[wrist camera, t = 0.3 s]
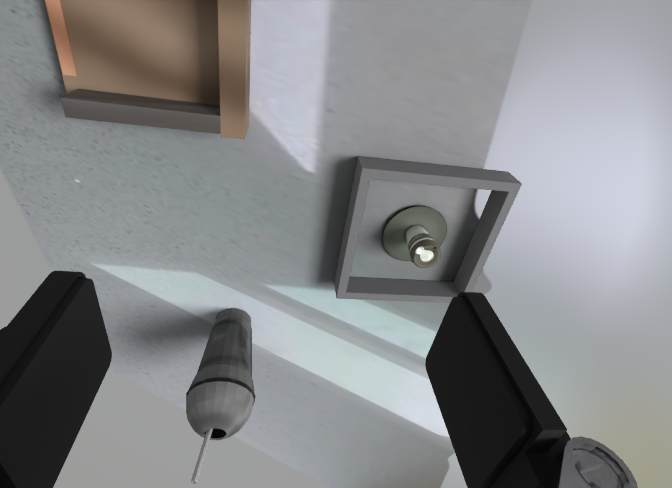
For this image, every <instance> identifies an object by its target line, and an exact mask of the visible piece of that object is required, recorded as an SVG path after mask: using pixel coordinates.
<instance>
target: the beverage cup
mask: <svg viewBox="0 0 672 488" xmlns="http://www.w3.org/2000/svg"><path fill="white" fill-rule="evenodd" d="M254 401H255V394H254V386H253V380H252V328H251V318H250V316H249V315H248V314H247V313H246V312H245V311H243V310H240V309H235V308H231V309H226V310H223V311H221V312H220V313H219V314H218V316H217V318H216V321H215V323H214V325H213V328H212V331H211V334H210V337H209V340H208V343H207V345H206V348H205V351H204V354H203V357H202V360H201V363H200V366H199V369H198V372H197V375H196V376H195V378H194V380H193V382H192V384H191V386H190V388H189V390H188V392H187V393H186V413H187V418H188V421H189V423H190V425H191V426H192V428H193V429H194V431H195V432H196V433H197V434H199V435H200V436H201V437H204V441H203V445H202V448H201V451H200V454H199V457H198V461H197V464H196V467H195V471H194V474H193V477H192V480H191V483H193V484H195V483H197V480H198V477H199V473H200V470H201V466H202V463H203V460H204V457H205V453H206V450H207V447H208V443H209V440H222V439H225V438H228V437H230V436H232V435H234V434H235V433H237V432H238V431H239V430H240V429H241V428H242V427H243V426H244V424H245V423H246V422H247V420H248V418H249V416H250V414H251V411H252V406H253V404H254Z"/></svg>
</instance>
